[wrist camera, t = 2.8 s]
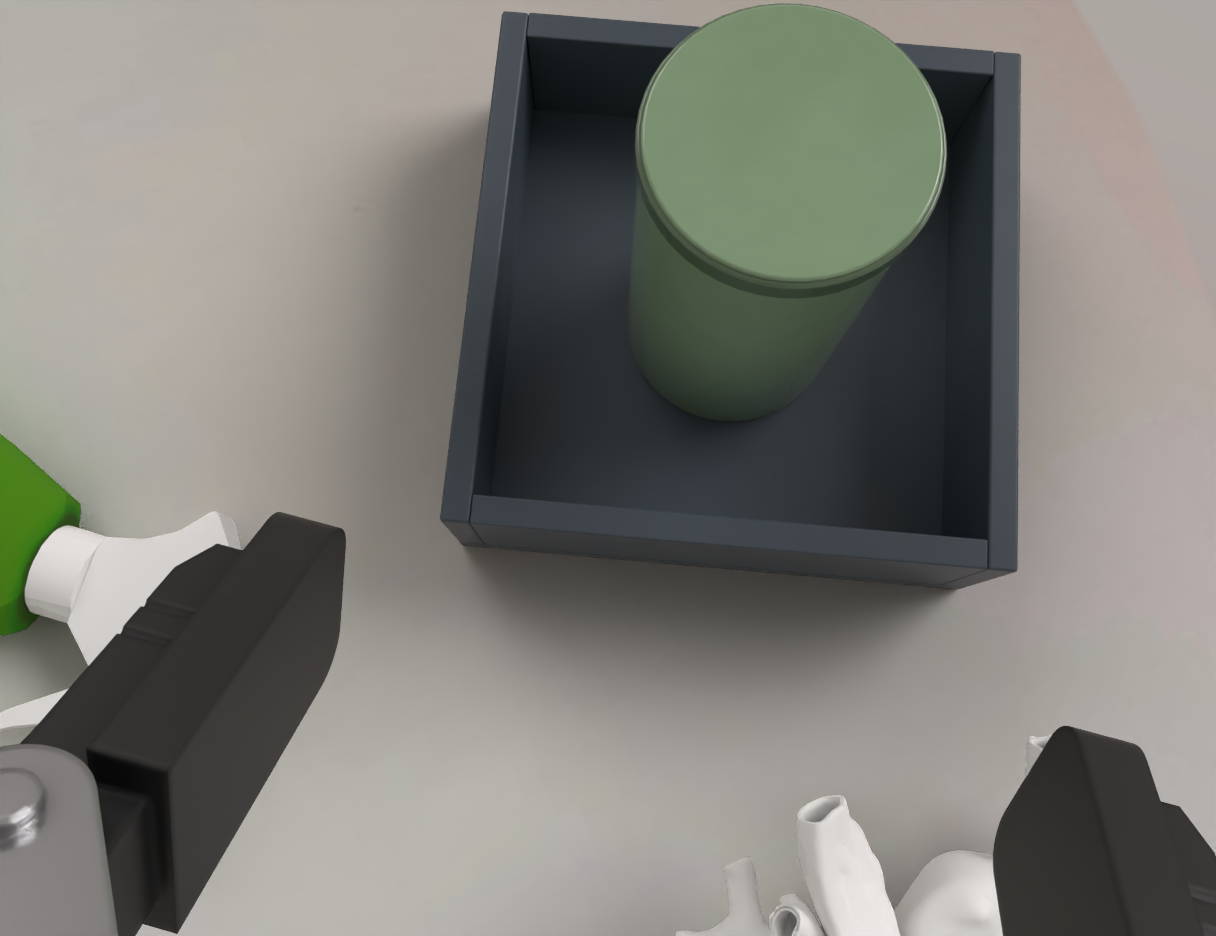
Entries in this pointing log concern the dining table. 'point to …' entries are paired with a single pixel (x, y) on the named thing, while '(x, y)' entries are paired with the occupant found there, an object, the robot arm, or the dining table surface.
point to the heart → (866, 885)
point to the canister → (772, 201)
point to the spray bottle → (77, 566)
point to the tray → (730, 450)
